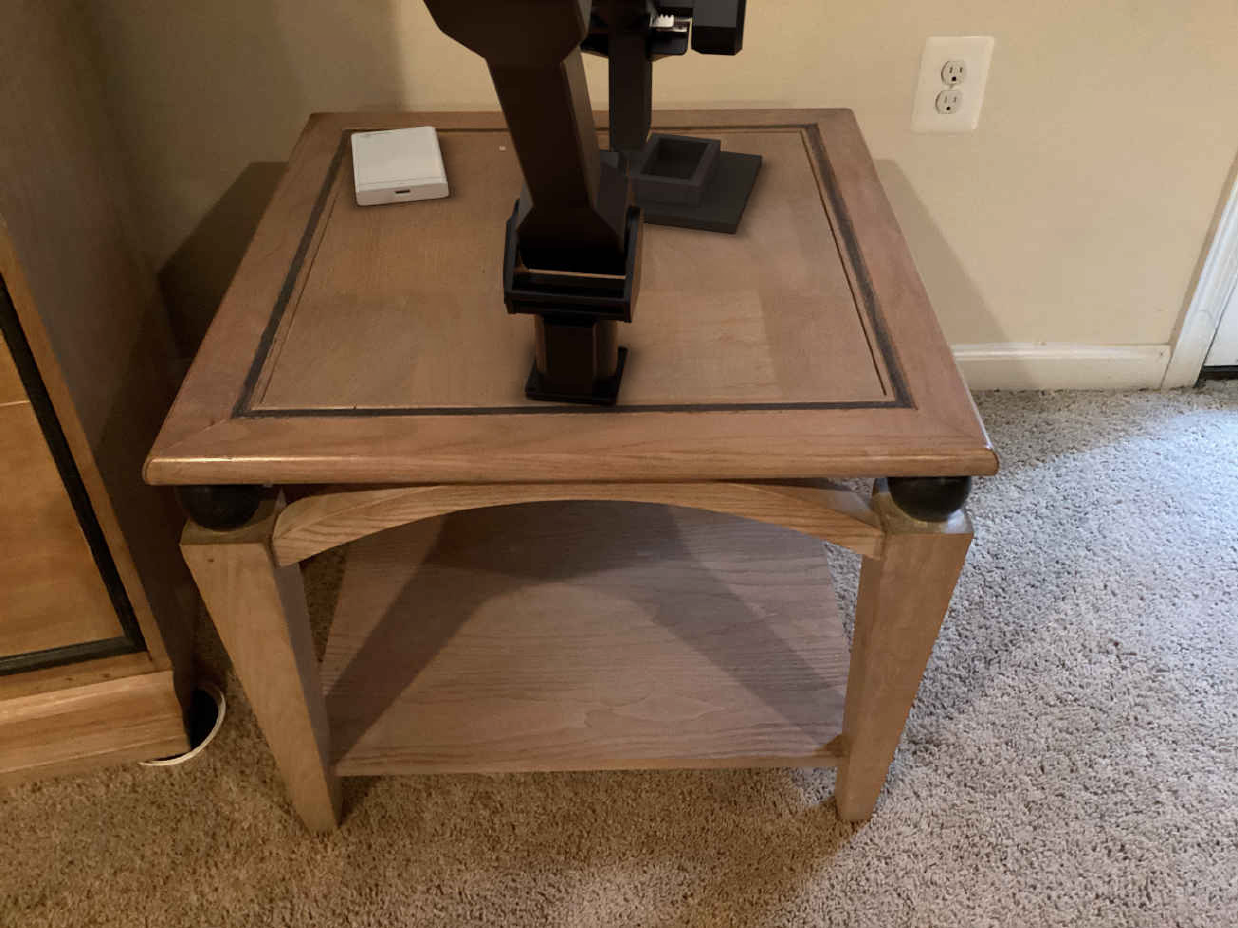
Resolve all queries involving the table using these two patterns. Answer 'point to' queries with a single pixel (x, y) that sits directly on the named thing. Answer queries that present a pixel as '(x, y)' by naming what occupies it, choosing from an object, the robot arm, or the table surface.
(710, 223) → the base pad
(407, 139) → the hard drive
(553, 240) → the robot arm
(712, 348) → the table surface
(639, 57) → the black tall block
